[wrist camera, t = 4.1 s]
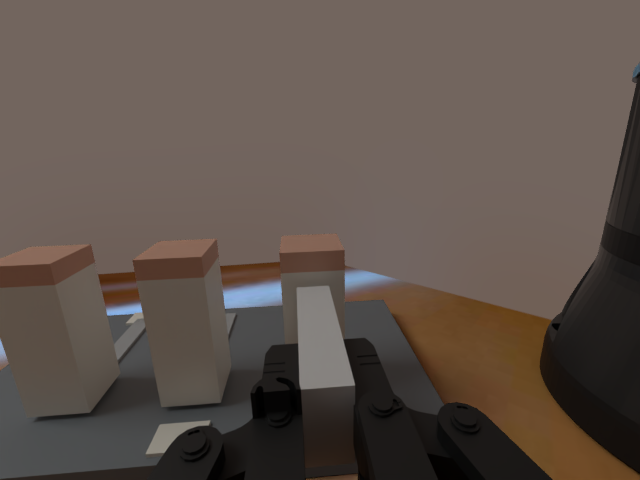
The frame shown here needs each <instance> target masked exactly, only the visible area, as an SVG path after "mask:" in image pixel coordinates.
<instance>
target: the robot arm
mask: <svg viewBox="0 0 640 480" xmlns="http://www.w3.org/2000/svg"><path fill="white" fill-rule="evenodd" d="M632 81H633V82H634V83H637V84H636V88H635V93H634V97H633V102H632V106H631V111H630V116H629V120H628V125H627V129H626V134H625V138H624V143H623V147H622V152H621V157H620V161H619V166H618V170H617V175H616V178H615V183H614V187H613V191H612V195H611V199H610V204H609V208H608V212H607V216H606V222H605V226H604V231H603V235H602V240H601V243H600V247H599V252H598V255H597V257H596V259H595V261H594V262H593V264H592V265H591V267H590V268H589V269H588V271H587V272H586V274H585V275H584V276H583V278H582V279H581V281H580V282H579V284H578V285H577V287H576V288H575V290H574V291H573V293H572V295H571V296H570V298H569V299H568V301H567V303H566V304H565V306H564V309H563V310H562V312H561V313H560V314H558V315H557V316H556V317H555V318H554V319H553V320H552V322H551V323H550V325H549V326H548V328H547V331H546V334H545V337H544V343H543V348H542V353H541V358H540V370H541V375H542V378H543V380H544V382H545V385H546V386H547V388H548V390H549V392H550V393H551V395H552V396H553V398H554V399H555V400H556V401H557V403H558V404H559V405H560V407H561V408H562V409H563V410H564V411H565V412H566V413H567V414H568V415H569V416H570V417H571V419H572V420H573V421H574V422H575V423H577V424H578V425H579V426H580V427H581V428H582V429H583V430H584V431H585V432H586V433H587V434H589V435H590V436H591V437H592V438H593V439H594V440H596V441H597V442H598V443H599V444H601V445H602V446H603V447H604V448H606V449H607V450H608V451H610V452H611V453H612V454H614V455H615V456H616V457H618V458H619V459H620V460H622V461H623V462H625V463H626V464H627V465H629V466H630V467H632V468H633V469H635V470H636V471H638V472H639V473H640V63H639V64H638V65H637V66H636V67H635V69H634V72H633V79H632ZM297 318H298V343H295V344H281V345H272V346H271V347H270V348H269V350H268V351H267V352H266V354H265V360H264V367H263V375H262V379H261V380H259V381H258V382H257V383H256V384H255V385H254V386H253V388H252V390H251V393H250V396H251V406H252V416H253V418H252V419H251V420H250V421H249V422H247V423H246V424H245V425H243V426H242V427H240V428H237V429H235V430H233V431H230V432H227V433H224V434H221V433H220V431H219V430H218V429H217V428H214V427H211V426H208V425H207V426H197V427H194V428H191V429H188V430H186V431H185V432H183V433H182V434H180V435H179V436H177V438H176V439H175V440H174V441H173V442H172V443H171V444H170V446H169V447H168V449H167V450H166V451H165V453H164V454H163V456H162V457H161V459H160V460H159V462H158V463H157V465H156V466H155V468H154V469H153V471H152V472H151V474H150V475H149V477H148V478H147V480H306V478H305V468H310V467H320V466H330V465H340V464H351V463H355V455H356V460H357V465H358V480H552V479H551V478H550V477H549V476H548V475H547V474H546V473H545V472H544V471H543V470H542V469H541V468H540V467H539V466H538V465H537V464H536V463H535V462H534V461H533V460H532V459H531V458H530V457H529V456H527V455H526V454H525V453H524V452H523V451H522V450H521V449H520V448H519V447H518V446H517V445H516V444H515V443H514V442H513V441H512V440H511V439H510V438H509V437H508V436H507V435H506V434H505V433H504V432H502V431H501V430H500V429H499V428H498V427H497V426H496V425H495V424H494V423H493V422H492V421H491V420H490V419H489V418H488V417H487V416H486V415H485V414H483V413H482V412H481V411H479V410H478V409H477V408H474V407H472V406H470V405H467V404H463V403H457V402H455V403H447V404H446V405H444V406H442V407H441V408H440V410H439V412H438V415H435V414H429V413H423V412H419V411H415V410H413V409H410V408H408V407H406V405H405V404H404V402H403V401H402V399H401V398H399V397H398V396H396V395H395V394H394V393H393V391H392V388H391V386H390V384H389V381H388V379H387V376H386V374H385V371H384V369H383V367H382V364H381V362H380V359H379V357H378V354H377V352H376V349H375V347H374V345H373V344H372V343H371V342H370V341H368V340H367V339H366V338H353V339H343V337H342V333H341V330H340V326H339V322H338V318H337V314H336V311H335V307H334V303H333V299H332V295H331V292H330V288H329V286H314V287H297Z"/></svg>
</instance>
